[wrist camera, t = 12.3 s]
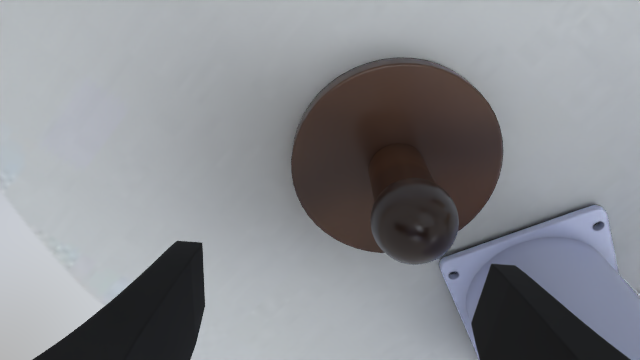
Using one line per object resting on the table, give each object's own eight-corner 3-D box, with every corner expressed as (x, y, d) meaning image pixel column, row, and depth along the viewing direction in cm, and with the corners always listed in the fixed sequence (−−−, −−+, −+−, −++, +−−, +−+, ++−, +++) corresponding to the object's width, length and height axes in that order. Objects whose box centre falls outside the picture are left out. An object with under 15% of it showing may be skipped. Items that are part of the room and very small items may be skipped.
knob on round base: (517, 201, 21) (590, 298, 15) (341, 265, 23) (348, 373, 17) (462, 18, 17) (532, 56, 11) (256, 112, 19) (228, 186, 13)
